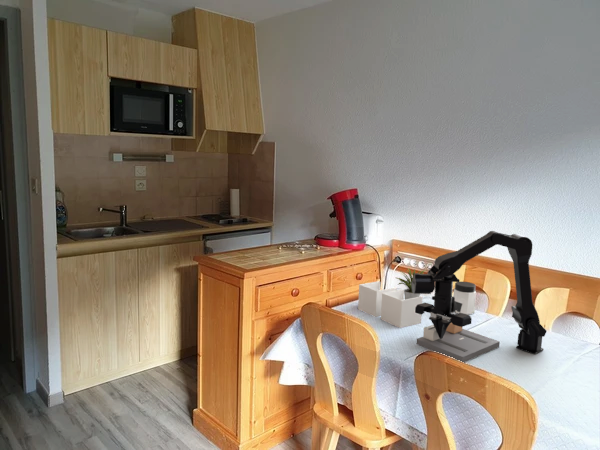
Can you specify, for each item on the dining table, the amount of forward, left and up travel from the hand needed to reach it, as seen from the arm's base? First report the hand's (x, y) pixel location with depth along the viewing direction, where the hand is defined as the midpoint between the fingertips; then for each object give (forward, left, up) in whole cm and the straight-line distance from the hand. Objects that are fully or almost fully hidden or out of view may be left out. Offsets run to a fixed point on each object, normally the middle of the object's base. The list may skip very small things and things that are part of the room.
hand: (441, 338), depth 158 cm
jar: (+17, -40, -3) cm, 44 cm away
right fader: (+3, -12, -1) cm, 13 cm away
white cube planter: (+32, -9, -4) cm, 33 cm away
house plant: (+36, -30, -3) cm, 47 cm away
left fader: (+4, 0, -1) cm, 4 cm away
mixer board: (-3, -6, -3) cm, 7 cm away
